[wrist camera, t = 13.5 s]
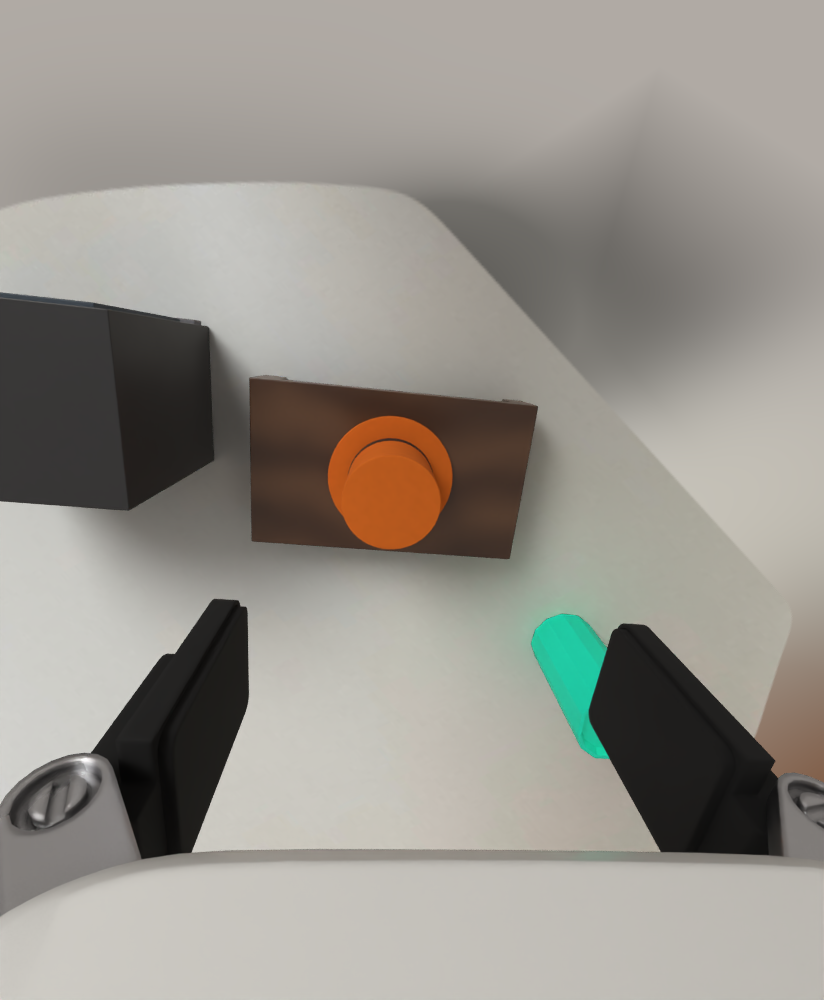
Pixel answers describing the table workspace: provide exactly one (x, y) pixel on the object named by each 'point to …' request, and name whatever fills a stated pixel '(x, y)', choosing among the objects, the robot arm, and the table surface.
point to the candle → (572, 672)
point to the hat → (390, 481)
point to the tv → (99, 402)
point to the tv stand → (337, 409)
